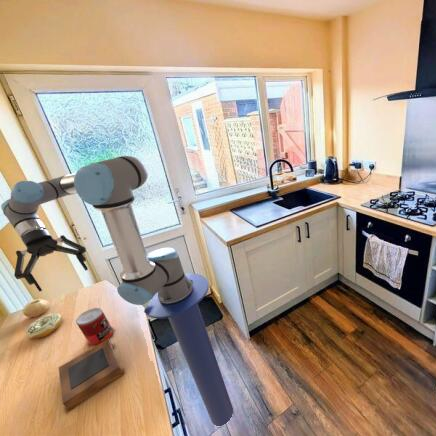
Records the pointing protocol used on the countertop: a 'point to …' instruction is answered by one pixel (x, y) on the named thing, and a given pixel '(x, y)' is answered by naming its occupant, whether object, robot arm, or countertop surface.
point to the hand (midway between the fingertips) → (64, 279)
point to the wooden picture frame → (88, 374)
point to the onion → (35, 308)
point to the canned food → (94, 326)
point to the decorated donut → (44, 326)
